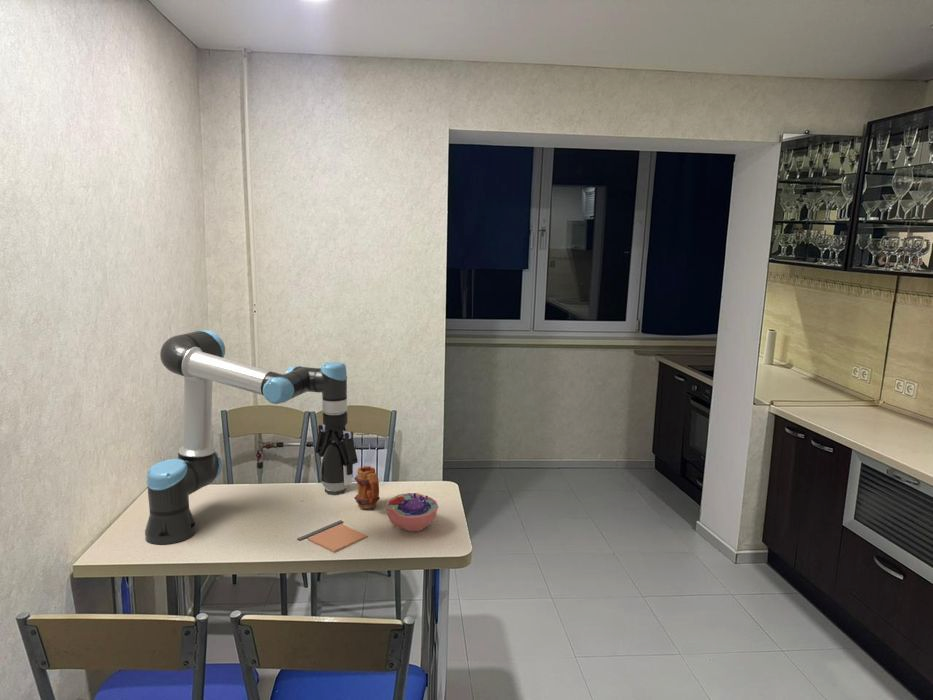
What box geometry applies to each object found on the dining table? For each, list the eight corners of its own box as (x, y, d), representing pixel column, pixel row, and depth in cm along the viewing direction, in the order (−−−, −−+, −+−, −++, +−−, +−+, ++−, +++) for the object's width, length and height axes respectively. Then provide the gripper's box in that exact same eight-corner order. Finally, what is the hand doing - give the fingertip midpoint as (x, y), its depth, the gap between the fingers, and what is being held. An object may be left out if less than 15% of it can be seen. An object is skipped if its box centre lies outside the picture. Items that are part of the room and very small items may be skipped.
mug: (352, 503, 238) (351, 464, 235) (373, 500, 241) (373, 461, 239) (365, 519, 225) (364, 478, 222) (387, 515, 229) (387, 474, 226)
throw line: (297, 539, 209) (296, 538, 209) (340, 521, 223) (340, 520, 223) (299, 541, 208) (299, 539, 208) (343, 522, 222) (343, 521, 222)
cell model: (428, 512, 232) (428, 481, 230) (443, 537, 213) (444, 504, 211) (381, 517, 227) (381, 486, 225) (392, 543, 208) (392, 510, 206)
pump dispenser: (351, 494, 203) (350, 447, 200) (317, 494, 202) (316, 447, 200) (355, 481, 213) (354, 436, 210) (322, 482, 212) (321, 437, 210)
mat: (307, 540, 209) (307, 538, 209) (341, 525, 220) (341, 523, 220) (334, 552, 201) (334, 551, 201) (367, 537, 212) (367, 535, 212)
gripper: (369, 416, 199) (369, 485, 203) (321, 403, 213) (322, 468, 217) (350, 421, 193) (351, 492, 197) (302, 407, 207) (304, 474, 211)
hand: (336, 479), depth 207 cm, fingers closed on pump dispenser, 10 cm apart
